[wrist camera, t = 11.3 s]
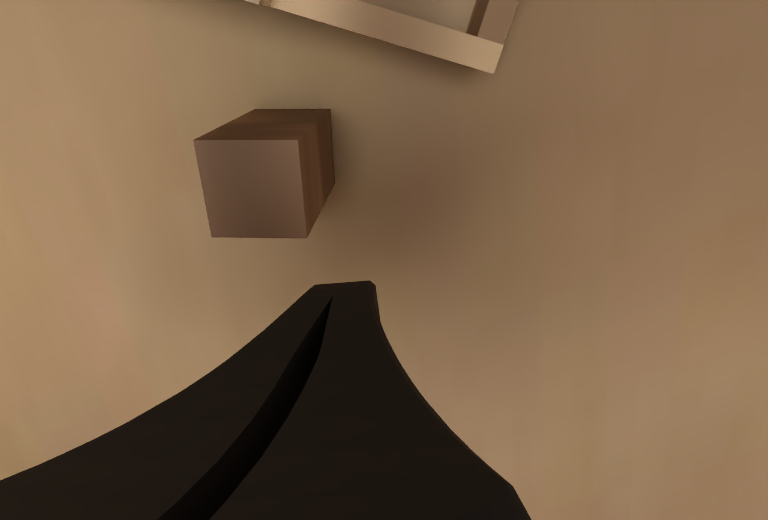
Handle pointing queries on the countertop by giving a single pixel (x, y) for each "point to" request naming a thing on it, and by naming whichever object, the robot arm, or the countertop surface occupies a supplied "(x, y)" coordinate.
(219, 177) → the brown wooden block
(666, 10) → the countertop surface
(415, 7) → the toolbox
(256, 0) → the lid
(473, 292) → the countertop surface
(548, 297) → the countertop surface
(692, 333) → the countertop surface
